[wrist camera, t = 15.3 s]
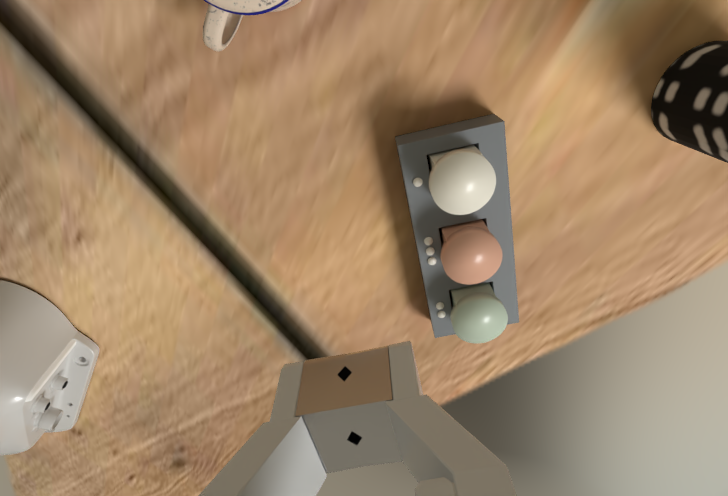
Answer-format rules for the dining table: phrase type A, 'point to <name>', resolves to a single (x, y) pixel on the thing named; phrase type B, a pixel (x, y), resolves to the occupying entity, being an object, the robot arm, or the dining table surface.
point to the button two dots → (477, 313)
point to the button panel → (430, 216)
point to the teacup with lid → (234, 18)
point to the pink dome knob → (469, 252)
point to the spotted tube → (695, 100)
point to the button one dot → (461, 179)
